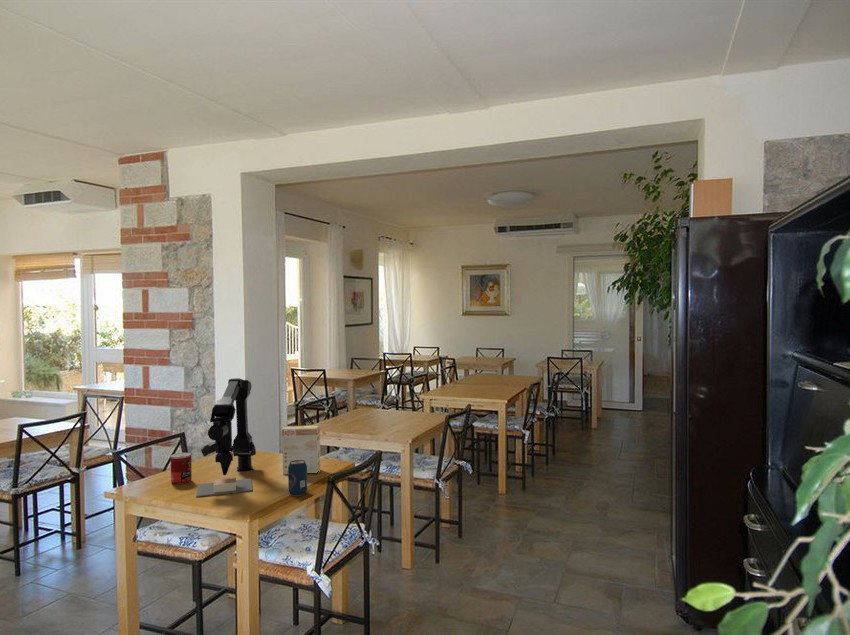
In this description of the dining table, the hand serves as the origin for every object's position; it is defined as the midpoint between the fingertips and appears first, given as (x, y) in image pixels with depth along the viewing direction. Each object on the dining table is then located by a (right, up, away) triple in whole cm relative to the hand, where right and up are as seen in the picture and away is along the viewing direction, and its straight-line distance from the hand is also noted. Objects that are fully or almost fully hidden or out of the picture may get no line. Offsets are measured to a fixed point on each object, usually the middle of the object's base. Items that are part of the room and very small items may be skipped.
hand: (224, 475), depth 219 cm
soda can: (+30, -5, -8) cm, 32 cm away
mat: (0, -5, +1) cm, 5 cm away
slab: (0, -3, +1) cm, 3 cm away
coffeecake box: (+25, -5, +22) cm, 34 cm away
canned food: (-22, -6, +11) cm, 25 cm away
